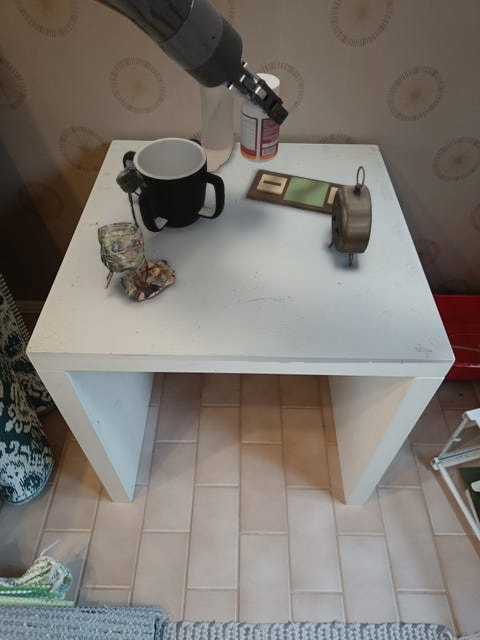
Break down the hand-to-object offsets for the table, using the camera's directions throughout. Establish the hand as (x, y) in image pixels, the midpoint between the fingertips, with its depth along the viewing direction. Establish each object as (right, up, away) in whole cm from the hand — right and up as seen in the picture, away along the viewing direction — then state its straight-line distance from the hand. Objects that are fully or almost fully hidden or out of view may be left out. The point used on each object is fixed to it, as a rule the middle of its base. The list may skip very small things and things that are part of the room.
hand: (269, 109), depth 65 cm
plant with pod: (-21, -26, +5) cm, 34 cm away
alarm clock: (+13, -20, +11) cm, 26 cm away
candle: (-10, +4, +28) cm, 30 cm away
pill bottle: (-1, -5, +5) cm, 7 cm away
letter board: (+9, -7, +19) cm, 23 cm away
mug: (-16, -12, +16) cm, 26 cm away
